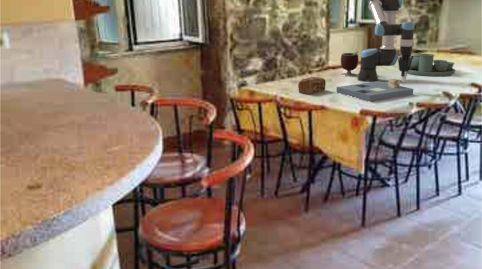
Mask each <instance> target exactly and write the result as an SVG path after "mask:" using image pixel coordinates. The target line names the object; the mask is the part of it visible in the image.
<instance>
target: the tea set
mask: <svg viewBox="0 0 482 269" xmlns="http://www.w3.org/2000/svg"><path fill="white" fill-rule="evenodd" d="M412 56H414V57H413V59H412V63H411V66H410V70H408V72H407V75H414V76H420V77H447V76H453V75H454V74H455V72H456V69H455V68H453V67H454V64H455V62H452V61H448V60H444V59H434V57H435V54H432V53H421V51H419V52H418V53H417V52H416V53H413V54H412Z"/></svg>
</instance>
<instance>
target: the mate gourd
mask: <svg viewBox="0 0 482 269" xmlns="http://www.w3.org/2000/svg"><path fill="white" fill-rule="evenodd" d="M340 65H341V67H342V69H344V70H345V71H346V72H343V73H341V74H340V75H341V76H342V75H345V76H344V77H357V76H358V75H357V73H354V72H353V73H352V71H353V70H356V69H357V67H358V65H359V51H356V52H344V53H341V56H340Z"/></svg>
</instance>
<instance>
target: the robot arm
mask: <svg viewBox="0 0 482 269" xmlns="http://www.w3.org/2000/svg"><path fill="white" fill-rule="evenodd" d="M402 6H403V0H368V1H367V7H368V8H367V9H368V10H369V11H370V12H371V14H372V17H373V20H374V22H375V26H374V35H375V36H378V37H382V40H381V41H382V42H381V46H380V47H379V50H378V48H366V49H363V50H362V51H361V55H360V68H359V73H358V75H357V78H356V79H357V80H358V81H360V82H376V81H378V80H379V78H378V73H377V67H394V66H395V65H396V64H397V62H398V70H399V71H400V72H401V74H400V76H401V80H400V81H401V82H406V81H407V76H408V73H407V72H408V70H410V66H411V63H412V59H413V57H414V56H413V54H412V51H413V45H414V34H415V32H414V31H415V22H413V21H403V22H402V23H396V21H397V13H398V12H399V10H400V9H402ZM395 36H399V37H400V48H399V51H400V53H399V52H398V50H396V46H395ZM399 54H400V55H399Z"/></svg>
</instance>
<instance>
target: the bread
mask: <svg viewBox="0 0 482 269" xmlns="http://www.w3.org/2000/svg"><path fill="white" fill-rule="evenodd" d="M326 83H327V82H326V79H325V78H323V77H320V76H310V77H307V78H303V79H301V80H300V81H299V82H298V84H297V87H298V93H300V94H305V95H311V94H316V93H320V92H324V91H325V90H326V89H325V88H326V85H327V84H326Z"/></svg>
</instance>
